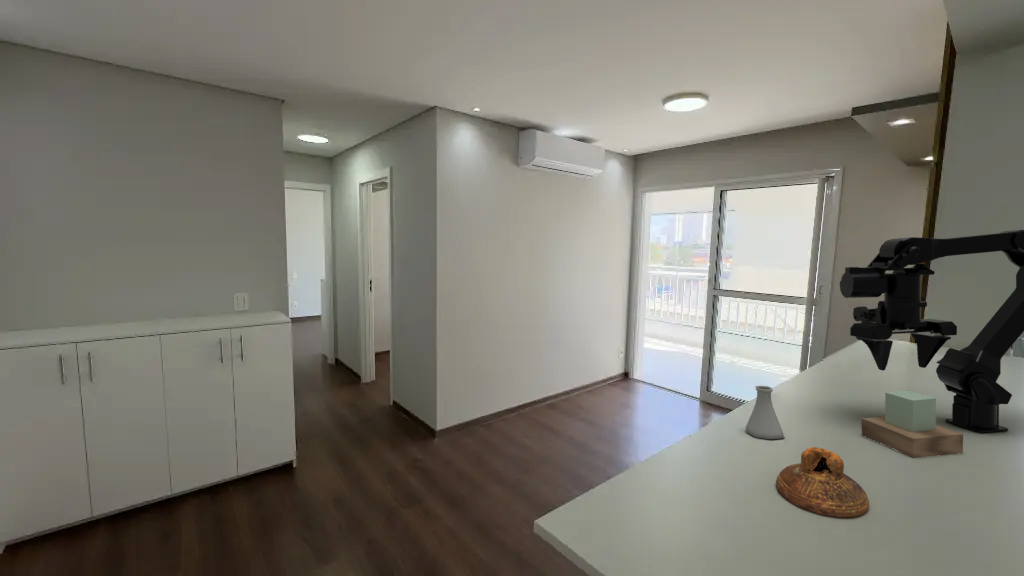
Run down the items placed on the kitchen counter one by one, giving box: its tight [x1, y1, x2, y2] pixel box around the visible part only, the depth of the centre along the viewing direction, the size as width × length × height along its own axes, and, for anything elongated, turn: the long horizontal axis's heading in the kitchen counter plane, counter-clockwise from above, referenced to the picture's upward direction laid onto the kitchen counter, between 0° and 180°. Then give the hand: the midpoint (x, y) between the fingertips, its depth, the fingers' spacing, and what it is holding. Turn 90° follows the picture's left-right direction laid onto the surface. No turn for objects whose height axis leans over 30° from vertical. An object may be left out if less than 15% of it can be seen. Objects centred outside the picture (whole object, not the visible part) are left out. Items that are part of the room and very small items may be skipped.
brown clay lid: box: [775, 446, 870, 518], centre depth 64 cm, size 12×12×7 cm
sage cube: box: [884, 390, 937, 432], centre depth 80 cm, size 5×5×6 cm
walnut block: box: [861, 415, 964, 459], centre depth 80 cm, size 10×10×4 cm
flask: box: [745, 385, 785, 440], centre depth 87 cm, size 7×7×10 cm
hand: (902, 368), depth 89 cm, fingers open, 9 cm apart
